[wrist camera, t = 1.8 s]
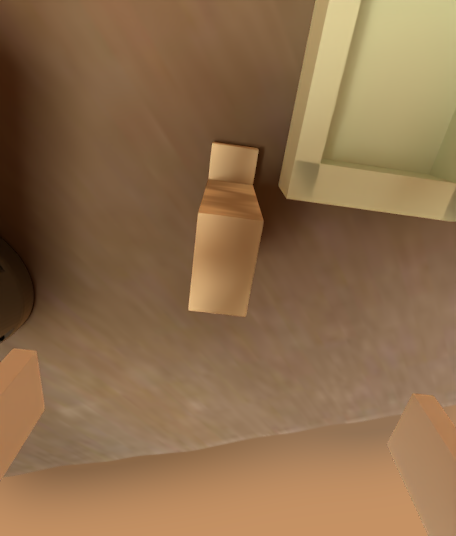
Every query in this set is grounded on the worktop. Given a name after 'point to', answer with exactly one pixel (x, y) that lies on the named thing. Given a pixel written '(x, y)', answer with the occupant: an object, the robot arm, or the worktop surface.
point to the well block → (376, 109)
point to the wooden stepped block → (226, 233)
